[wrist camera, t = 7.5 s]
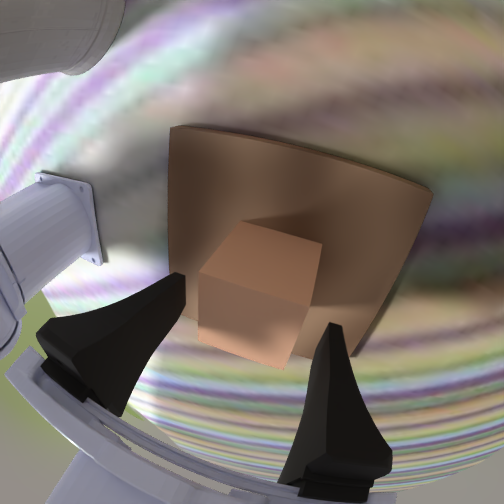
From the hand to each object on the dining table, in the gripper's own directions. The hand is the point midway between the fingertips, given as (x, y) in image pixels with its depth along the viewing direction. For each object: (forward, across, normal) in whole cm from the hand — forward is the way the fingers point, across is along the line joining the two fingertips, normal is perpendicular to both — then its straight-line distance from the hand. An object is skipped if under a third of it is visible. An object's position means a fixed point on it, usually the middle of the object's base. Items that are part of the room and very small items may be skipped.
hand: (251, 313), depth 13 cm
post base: (+5, 0, 0) cm, 5 cm away
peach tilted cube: (+4, 0, 0) cm, 4 cm away
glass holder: (+5, +19, -17) cm, 26 cm away
